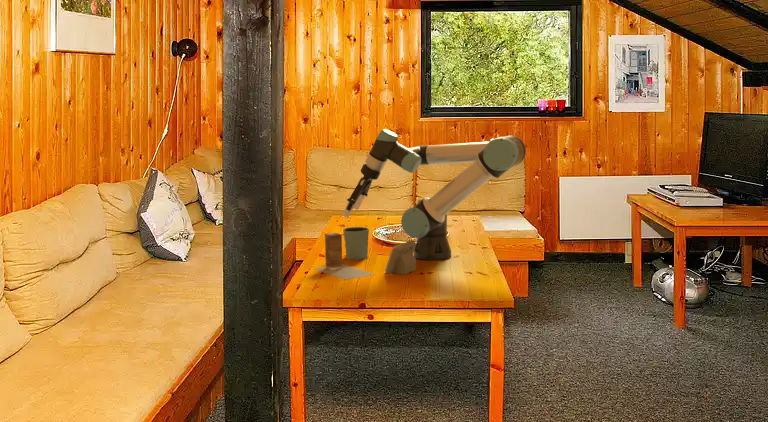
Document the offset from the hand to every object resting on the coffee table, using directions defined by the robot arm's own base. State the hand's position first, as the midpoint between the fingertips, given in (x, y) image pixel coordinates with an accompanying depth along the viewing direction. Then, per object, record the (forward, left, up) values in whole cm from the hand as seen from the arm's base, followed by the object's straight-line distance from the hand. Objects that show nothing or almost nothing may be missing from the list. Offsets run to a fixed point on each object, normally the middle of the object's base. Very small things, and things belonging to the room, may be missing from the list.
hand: (350, 212), depth 323 cm
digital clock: (-29, +14, -19) cm, 37 cm away
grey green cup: (-3, +1, -19) cm, 19 cm away
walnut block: (-5, +22, -18) cm, 29 cm away
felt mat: (-11, +25, -18) cm, 33 cm away
